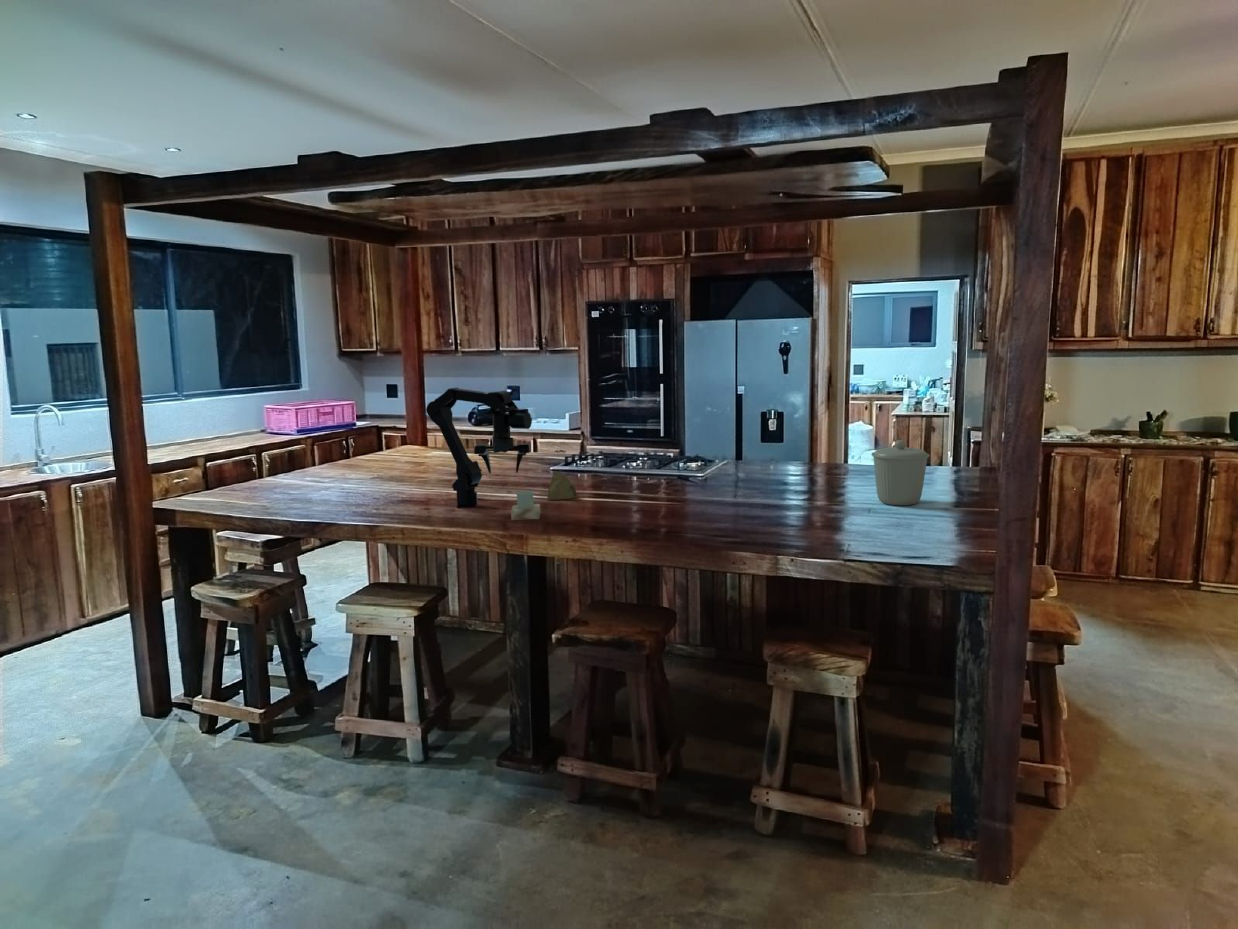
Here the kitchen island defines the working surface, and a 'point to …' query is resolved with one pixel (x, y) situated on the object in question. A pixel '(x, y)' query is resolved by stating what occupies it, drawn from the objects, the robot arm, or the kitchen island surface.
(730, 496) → the kitchen island surface
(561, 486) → the rock
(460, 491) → the robot arm
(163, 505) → the kitchen island surface
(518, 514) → the plinth
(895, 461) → the canister
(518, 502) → the block
